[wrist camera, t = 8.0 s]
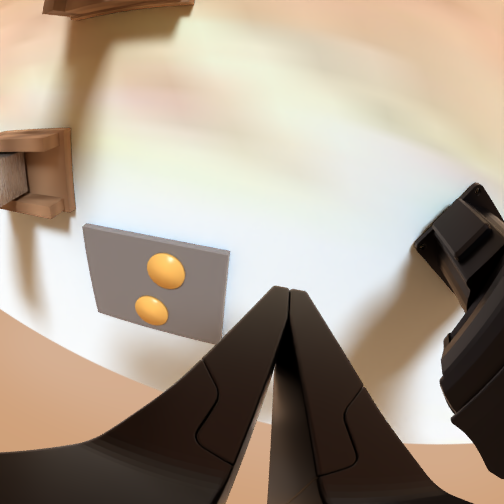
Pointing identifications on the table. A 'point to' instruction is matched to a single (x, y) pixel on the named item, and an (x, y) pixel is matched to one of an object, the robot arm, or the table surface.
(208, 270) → the pattern card
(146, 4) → the track
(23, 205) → the track
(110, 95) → the table surface
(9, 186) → the lever
